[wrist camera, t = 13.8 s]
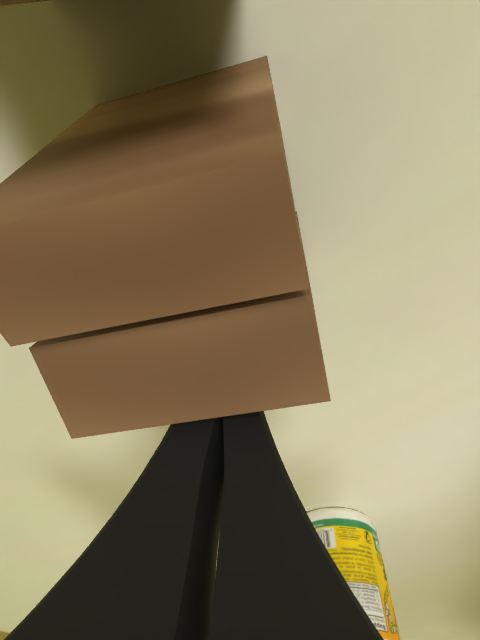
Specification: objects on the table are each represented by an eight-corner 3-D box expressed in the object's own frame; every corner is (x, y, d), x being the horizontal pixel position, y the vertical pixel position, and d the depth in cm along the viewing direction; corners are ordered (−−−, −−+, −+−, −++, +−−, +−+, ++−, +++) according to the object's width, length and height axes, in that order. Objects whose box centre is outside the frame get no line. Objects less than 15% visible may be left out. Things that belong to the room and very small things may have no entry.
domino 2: (307, 269, 15) (330, 401, 7) (170, 296, 16) (72, 438, 8) (296, 211, 14) (310, 294, 7) (153, 243, 15) (29, 348, 8)
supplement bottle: (303, 499, 25) (324, 719, 18) (388, 510, 26) (443, 727, 18) (280, 539, 29) (289, 739, 21) (356, 549, 29) (391, 746, 22)
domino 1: (281, 133, 13) (308, 288, 6) (123, 174, 13) (10, 346, 7) (266, 55, 11) (283, 152, 5) (94, 106, 12) (-72, 242, 6)
